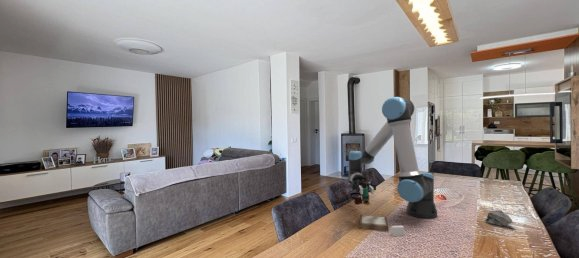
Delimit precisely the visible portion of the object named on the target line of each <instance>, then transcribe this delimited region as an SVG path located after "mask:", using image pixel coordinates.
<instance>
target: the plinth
mask: <svg viewBox="0 0 579 258" xmlns="http://www.w3.org/2000/svg"><path fill="white" fill-rule="evenodd" d="M359 229H362V230H373V231H379V232H389V223H388V218H387V217H386V216H376V215H375V216H374V215H366V214H365V215H364V214H360V215H359Z"/></svg>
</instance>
